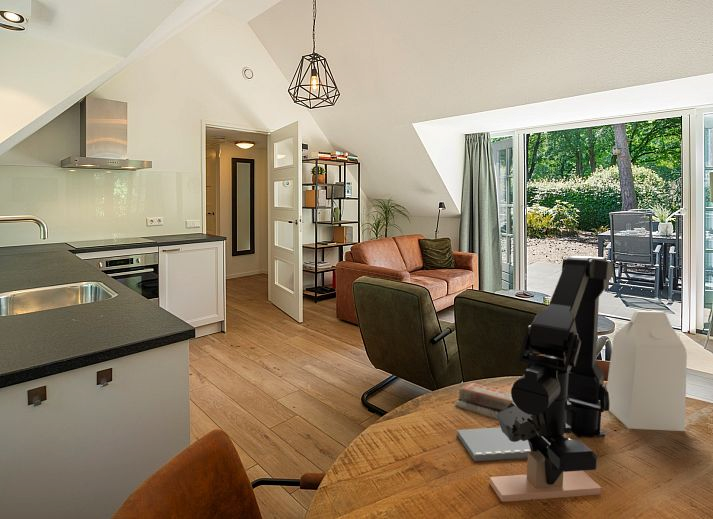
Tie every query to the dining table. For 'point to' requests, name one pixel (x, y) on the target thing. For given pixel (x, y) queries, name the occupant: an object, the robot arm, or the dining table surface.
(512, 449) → the board
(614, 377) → the milk
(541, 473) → the stub
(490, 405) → the packaged product
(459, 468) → the dining table surface
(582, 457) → the robot arm
